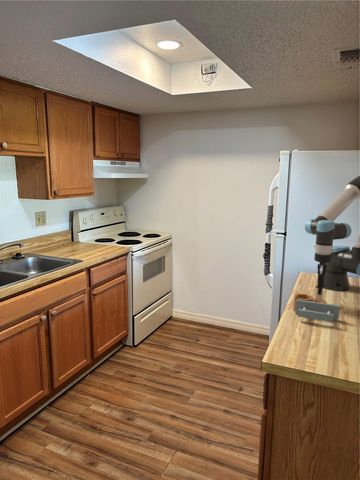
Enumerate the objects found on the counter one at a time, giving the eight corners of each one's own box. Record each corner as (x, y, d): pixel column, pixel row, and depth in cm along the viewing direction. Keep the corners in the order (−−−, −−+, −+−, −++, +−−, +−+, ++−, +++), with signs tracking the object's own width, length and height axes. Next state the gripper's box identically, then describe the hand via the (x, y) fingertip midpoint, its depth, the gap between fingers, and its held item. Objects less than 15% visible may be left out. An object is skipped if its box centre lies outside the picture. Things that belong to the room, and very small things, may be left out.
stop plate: (295, 311, 165) (296, 299, 163) (338, 318, 157) (339, 305, 156) (292, 319, 157) (293, 305, 155) (337, 326, 149) (339, 312, 148)
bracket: (303, 315, 162) (304, 300, 161) (289, 309, 169) (290, 295, 168) (330, 308, 170) (331, 294, 169) (316, 302, 178) (317, 289, 176)
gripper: (316, 249, 179) (312, 294, 183) (313, 255, 167) (309, 303, 172) (332, 251, 175) (328, 297, 180) (331, 256, 164) (326, 305, 168)
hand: (319, 300), depth 176 cm, fingers closed
